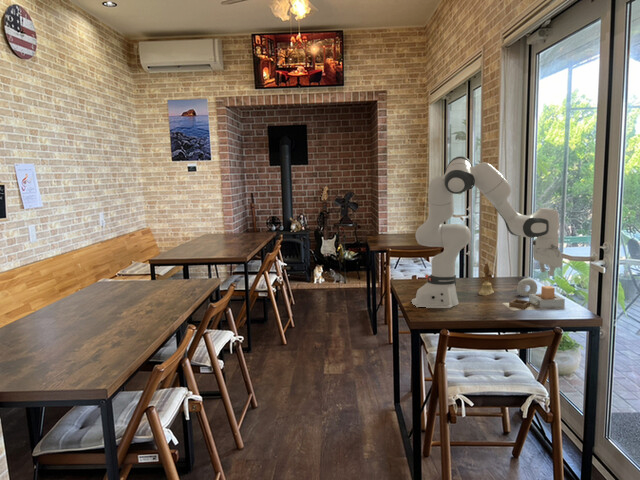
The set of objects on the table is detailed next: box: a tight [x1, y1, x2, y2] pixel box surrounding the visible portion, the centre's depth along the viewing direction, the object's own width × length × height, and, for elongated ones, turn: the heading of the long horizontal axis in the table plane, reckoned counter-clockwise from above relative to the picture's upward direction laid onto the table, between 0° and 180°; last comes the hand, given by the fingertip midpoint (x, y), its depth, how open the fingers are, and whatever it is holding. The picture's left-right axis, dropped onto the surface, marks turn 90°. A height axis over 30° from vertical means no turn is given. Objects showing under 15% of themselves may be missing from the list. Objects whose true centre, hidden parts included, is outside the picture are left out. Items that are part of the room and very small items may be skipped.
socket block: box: [528, 292, 566, 310], centre depth 211 cm, size 11×11×4 cm
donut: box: [516, 277, 538, 297], centre depth 229 cm, size 10×4×10 cm, turn 94°
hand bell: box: [478, 263, 495, 297], centre depth 240 cm, size 8×8×16 cm
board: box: [501, 302, 563, 312], centre depth 212 cm, size 24×12×2 cm, turn 89°
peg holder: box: [508, 298, 530, 309], centre depth 212 cm, size 7×7×2 cm
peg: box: [540, 285, 556, 299], centre depth 210 cm, size 4×4×8 cm
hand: (546, 273), depth 210 cm, fingers open, 6 cm apart
